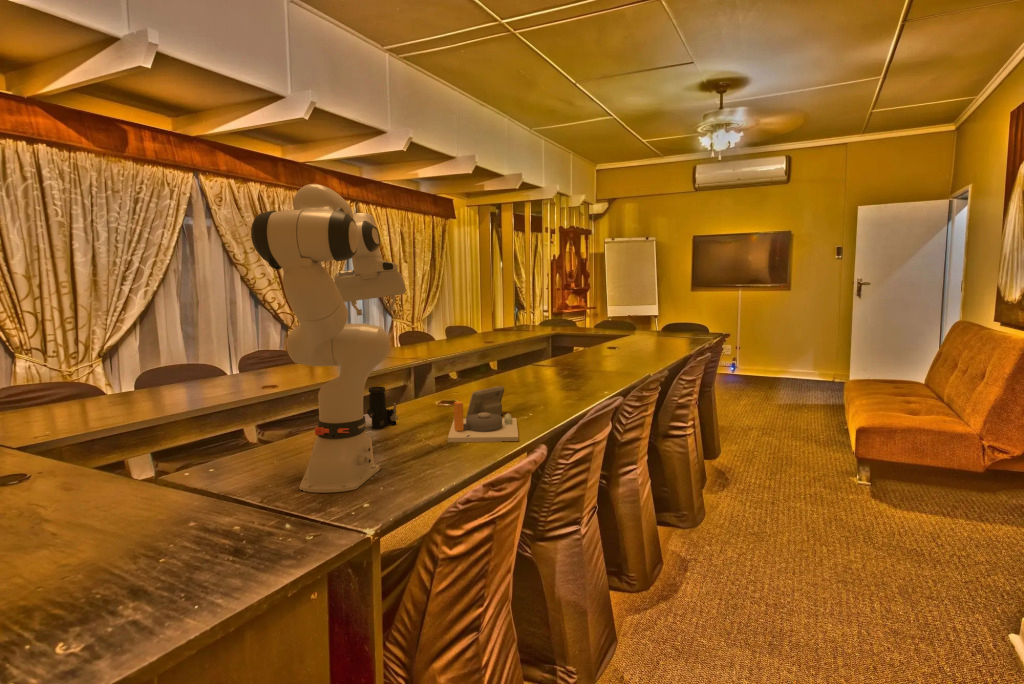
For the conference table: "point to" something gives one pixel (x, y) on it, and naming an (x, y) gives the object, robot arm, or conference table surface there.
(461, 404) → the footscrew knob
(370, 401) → the scope
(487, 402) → the digital clock
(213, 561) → the conference table surface
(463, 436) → the base
